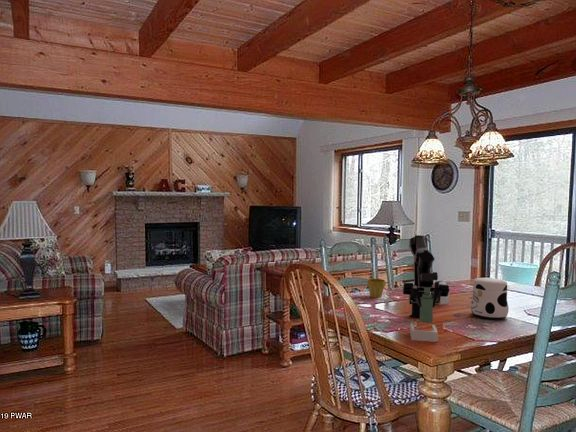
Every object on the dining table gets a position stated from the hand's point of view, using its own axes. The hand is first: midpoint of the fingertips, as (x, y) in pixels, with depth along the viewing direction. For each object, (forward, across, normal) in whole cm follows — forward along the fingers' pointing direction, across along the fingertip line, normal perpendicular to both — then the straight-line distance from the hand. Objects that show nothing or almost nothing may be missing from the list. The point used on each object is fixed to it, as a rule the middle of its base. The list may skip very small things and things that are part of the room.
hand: (426, 306), depth 188 cm
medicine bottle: (-36, +16, +56) cm, 68 cm away
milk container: (-20, +36, +39) cm, 57 cm away
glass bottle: (+4, 0, +6) cm, 7 cm away
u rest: (+8, -1, +10) cm, 14 cm away
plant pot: (-41, -19, +61) cm, 76 cm away
